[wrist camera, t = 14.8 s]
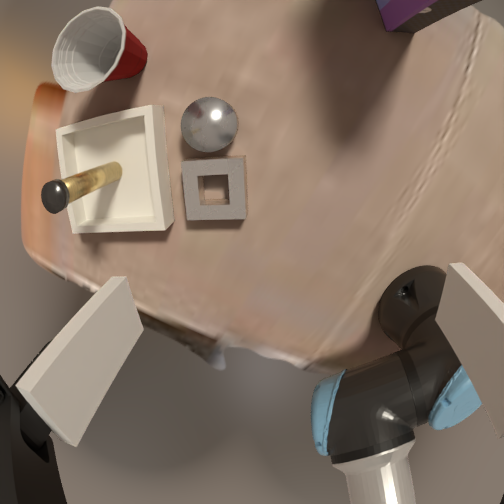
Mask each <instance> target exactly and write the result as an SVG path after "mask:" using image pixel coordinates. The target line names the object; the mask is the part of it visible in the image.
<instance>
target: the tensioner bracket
mask: <svg viewBox="0 0 504 504" xmlns="http://www.w3.org/2000/svg"><path fill="white" fill-rule="evenodd" d="M238 124H239V122H238V117H237V114H236V112H235V110H234V109H233V107H232V106H231V105H230V104H229V103H227V102H225V101H224V100H221V99H218V98H214V97H205V98H201V99H198V100H196V101H195V102H193V103H192V104H190V105H189V106H188V108H187V109H186V110H185V112H184V114H183V116H182V120H181V131H182V135H183V137H184V139H185V141H186V142H187V143H188V144H189V145H190V146H191V147H192V148H194V149H196V150H198V151H202V152H214V151H218V150H220V149H222V148H224V147H226V146H227V145H229V144H230V143H231V142H232V141H233V139H234V138H235V136H236V134H237V131H238ZM181 166H182V177H183V187H184V197H185V206H186V214H187V220H222V219H246V218H247V215H248V194H247V172H246V155H242V156H221V157H205V158H191V159H186V160H184V161H182V162H181ZM222 174H228V182H229V198H230V199H208V200H205V191H204V179H203V175H222Z"/></svg>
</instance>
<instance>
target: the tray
mask: <svg viewBox="0 0 504 504" xmlns="http://www.w3.org/2000/svg"><path fill="white" fill-rule="evenodd" d="M56 138H57V147H58V156H59V163H60V170H61V177H62V179H65V178H67V177H70V176H72V175H75V174H78V173H80V172H83V171H86V170H89V169H92V168H94V167H97V166H100V165H103V164H106V163H109V162H113V161H115V162H118V163H119V164H120V165H121V167H122V176H121V178H120V179H119V180H117V181H115V182H112V183H110V184H108V185H106V186H104V187H102V188H100V189H97V190H95V191H93V192H91V193H89V194H87V195H85V196H83V197H81V198H79V199H77V200H75V201H73V202H71V203H69V204H68V206H67V210H68V214H69V219H70V223H71V227H72V232H73V234H74V233H98V232H125V231H159V230H166V229H167V228H168V227H169V226H170V225H171V224H172V223H173V222H174V221H175V219H174V211H173V203H172V195H171V186H170V177H169V167H168V157H167V146H166V133H165V119H164V106H162V105H147V106H142V107H137V108H132V109H128V110H123V111H119V112H115V113H111V114H106V115H103V116H99V117H95V118H91V119H88V120H84V121H81V122H77V123H74V124H71V125H68V126H65V127H62V128H59V129H56Z"/></svg>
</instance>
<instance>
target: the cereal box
mask: <svg viewBox="0 0 504 504" xmlns="http://www.w3.org/2000/svg"><path fill="white" fill-rule="evenodd" d="M375 1H376V3H377V6H378V9H379V12H380V14H381V17H382V20H383V23H384V26H385V30H386V31H389V32H407V33H416V32H418V31H419V30H421V29H423V28H425V27H427V26H429V25H431V24H433V23H435V22H437V21H438V20H440V19H442V18H444V17H446V16H449V15H451V14H453V13H455V12H457V11H459V10H461V9H463V8H466V7H468V6H470V5H472V4H475V3H477V2H479V1H482V0H375Z"/></svg>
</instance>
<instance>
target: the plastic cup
mask: <svg viewBox="0 0 504 504" xmlns="http://www.w3.org/2000/svg"><path fill="white" fill-rule="evenodd" d="M147 55H148V54H147V51H146V48H145V46H144V45H143V44H142V43H141V42H140V40H139V39H137V38H136V37H135V36H134V35H133V34H132V33H131V32H130V31H129V30H128V29H127V27H126V26H125V25H124V23H123V20H122V18H121V16H119V15H118V14H117V13H116V12H115V11H114V10H112V9H111V8H105V7H94V8H91V9H88V10H85V11H83V12H81V13H80V14H78V15H77V16H76V17H74V18H73V19H72V20H70V21H69V22H68V24H67V25H66V26H65V28H64V29H63V30H62V32H61V33H60V34H59V36H58V39H57V41H56V44H55V46H54V49H53V55H52V70H53V73H54V77H55V80H56V81H57V82H58V83H59V84H60V86H61V87H62V88H63V89H65V90H68V91H71V92H74V93H77V92H82V91H88V90H91V89H92V88H94V87H95V86H97V85H98V84H100V83H102V82H105V81H111V80H117V79H123V78H130V77H132V76H134V75H136V74H138V73H139V72H140V71H141V70H142V69H143V68H144V66H145V64H146V62H147Z"/></svg>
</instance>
